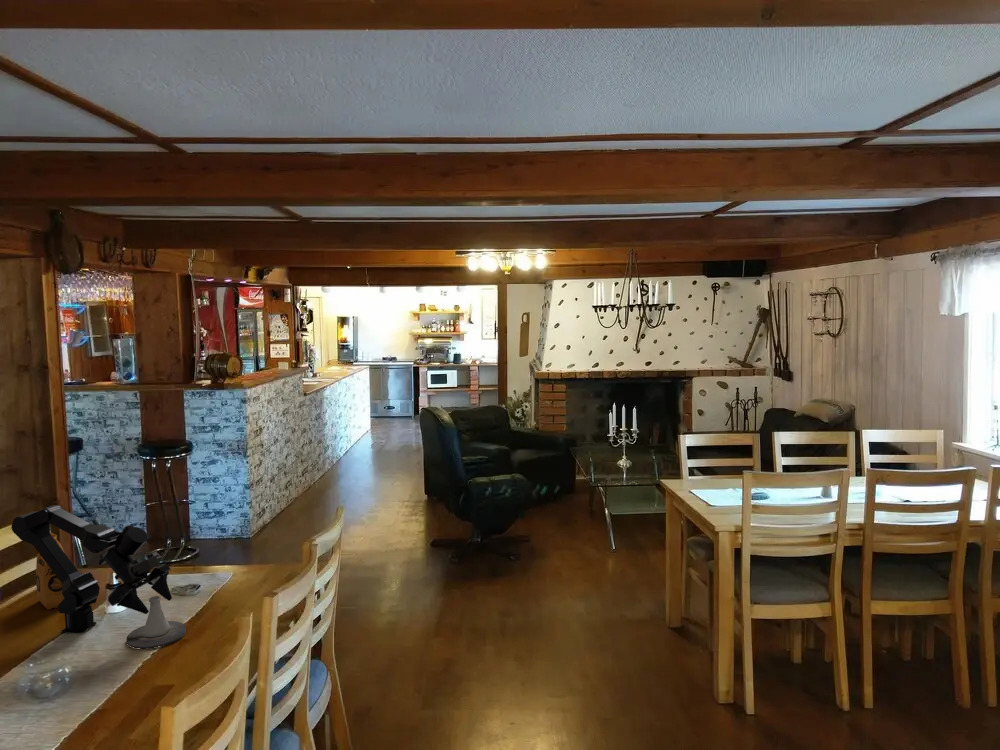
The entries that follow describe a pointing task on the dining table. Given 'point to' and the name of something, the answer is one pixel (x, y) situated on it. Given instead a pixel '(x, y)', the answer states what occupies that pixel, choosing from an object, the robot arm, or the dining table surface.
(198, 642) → the dining table surface
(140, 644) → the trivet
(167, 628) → the flask
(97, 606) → the dining table surface
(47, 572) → the coffee package
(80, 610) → the robot arm
